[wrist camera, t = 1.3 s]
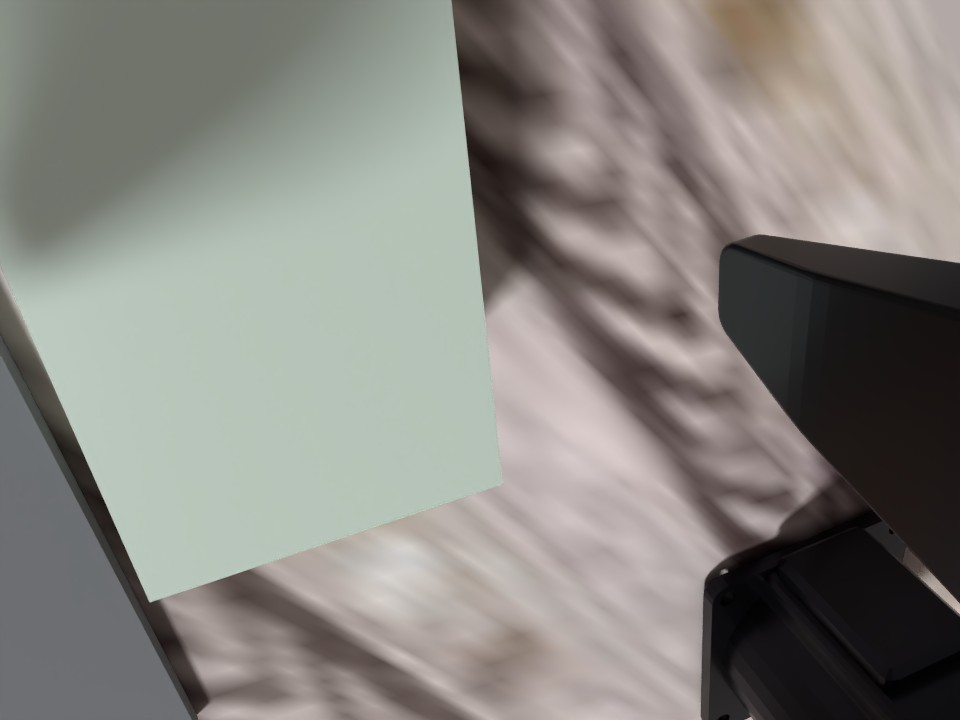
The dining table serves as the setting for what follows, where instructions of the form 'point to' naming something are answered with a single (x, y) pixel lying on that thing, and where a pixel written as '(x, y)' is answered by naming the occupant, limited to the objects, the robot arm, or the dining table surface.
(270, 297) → the card case
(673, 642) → the dining table surface
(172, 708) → the rubber mat
